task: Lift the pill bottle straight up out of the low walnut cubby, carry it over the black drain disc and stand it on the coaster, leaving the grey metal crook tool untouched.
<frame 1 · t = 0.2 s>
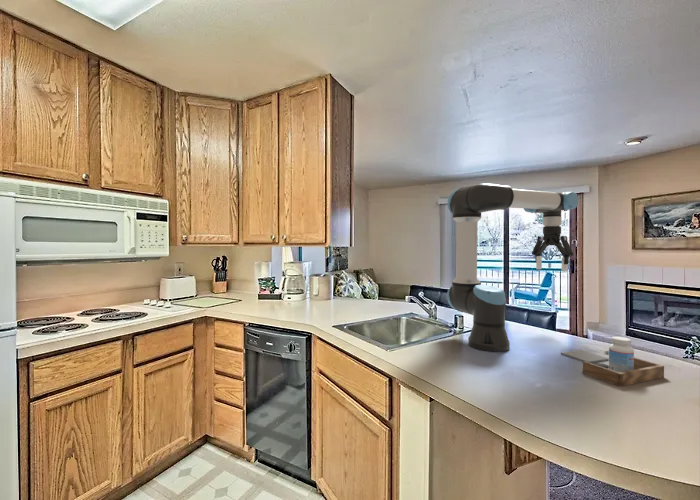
hand: (551, 270, 163), 28 cm above the counter, fingers open, 13 cm apart
cubby: (620, 374, 106), on the counter
pill bottle: (620, 374, 106), resting in cubby
crook tool: (624, 359, 120), on the counter
coaster: (584, 357, 122), on the counter
drain disc: (601, 365, 113), on the counter
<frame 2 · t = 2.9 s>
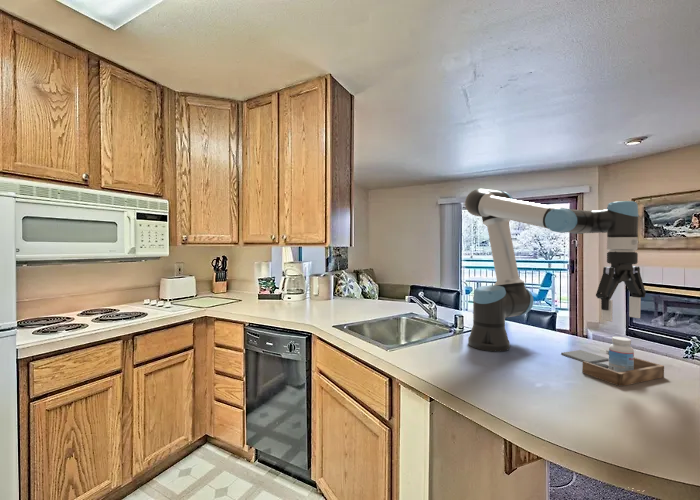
hand: (621, 319, 107), 17 cm above the counter, fingers open, 13 cm apart
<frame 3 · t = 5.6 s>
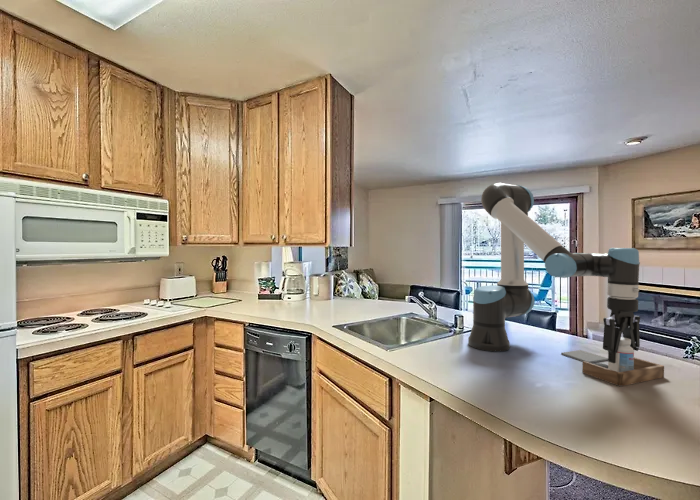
hand: (620, 371, 106), 1 cm above the counter, fingers closed on pill bottle, 6 cm apart
pill bottle: (620, 374, 106), resting in cubby, touching gripper
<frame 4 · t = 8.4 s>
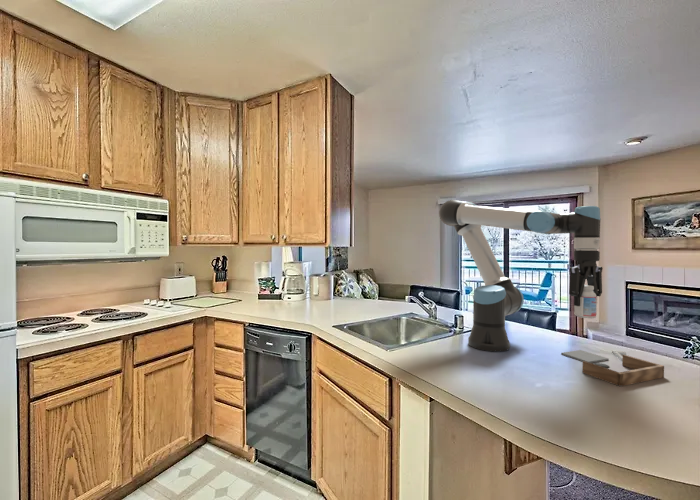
hand: (585, 314, 122), 15 cm above the counter, fingers closed on pill bottle, 6 cm apart
pill bottle: (585, 317, 122), point 14 cm above the counter, touching gripper
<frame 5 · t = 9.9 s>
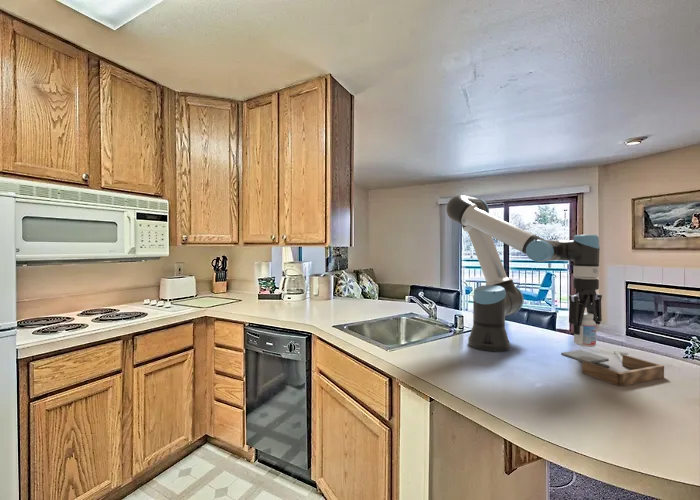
hand: (585, 342, 122), 5 cm above the counter, fingers closed on pill bottle, 6 cm apart
pill bottle: (585, 345, 122), point 4 cm above the counter, touching gripper
when the fingers open (2 cm above the counter, at t = 11.3 s): pill bottle stays where it is, resting on coaster.
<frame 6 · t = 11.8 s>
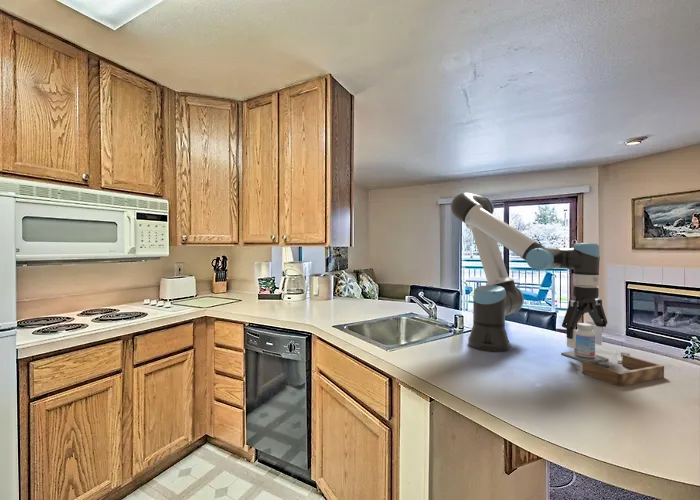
hand: (584, 345, 122), 4 cm above the counter, fingers open, 13 cm apart
pill bottle: (584, 356, 122), resting on coaster
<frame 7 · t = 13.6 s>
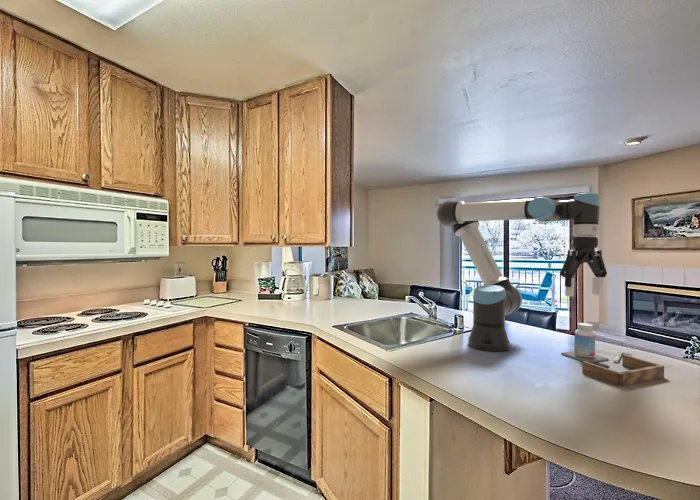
hand: (583, 295, 123), 22 cm above the counter, fingers open, 13 cm apart
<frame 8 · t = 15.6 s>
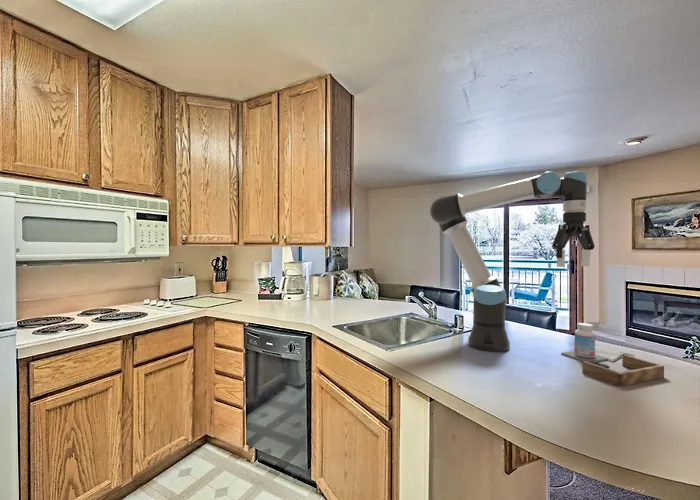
hand: (573, 266, 133), 32 cm above the counter, fingers open, 13 cm apart
at the end: pill bottle inside the target area (0.0 cm from its centre), resting on coaster; pill bottle tilted 0°; the gripper is holding nothing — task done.
